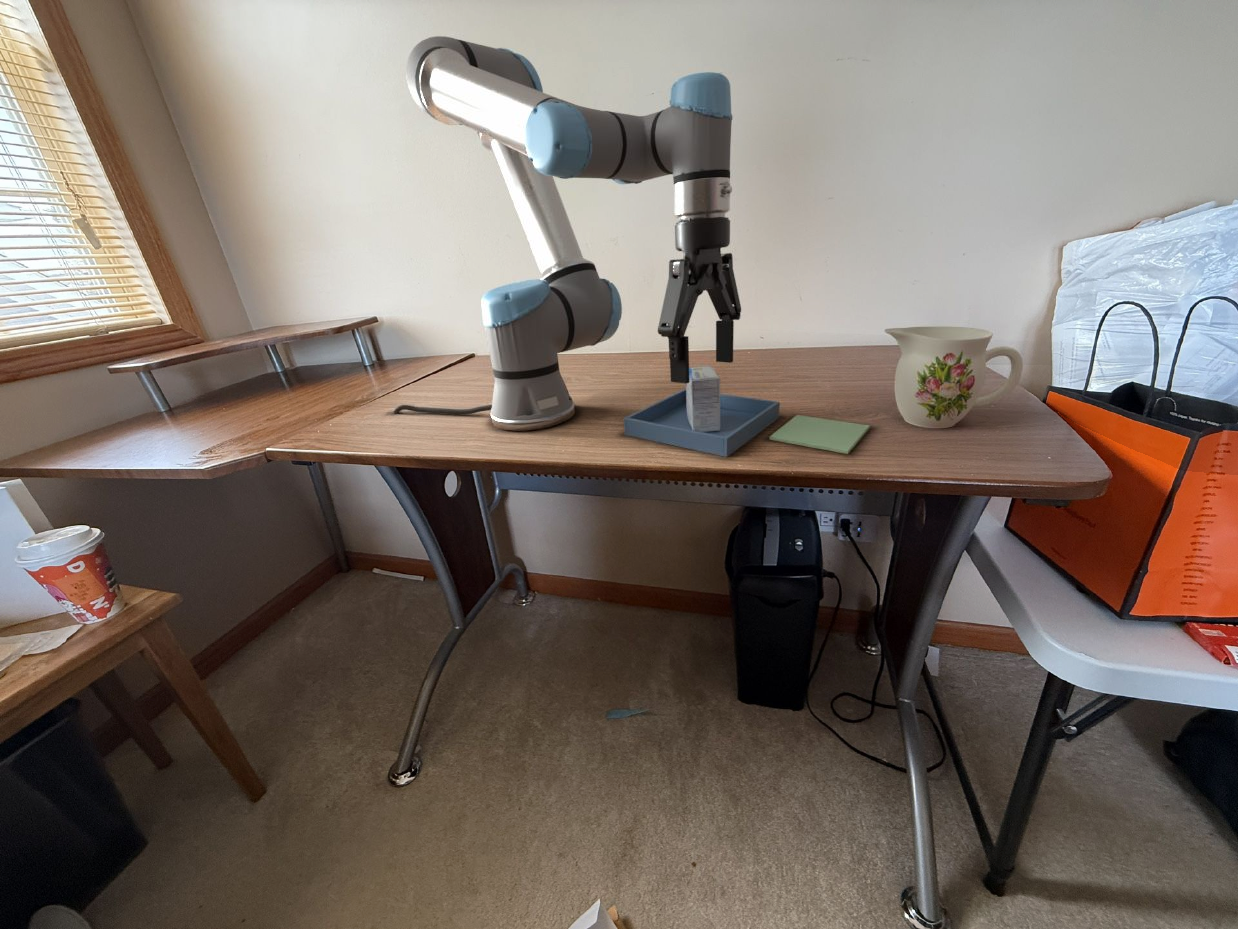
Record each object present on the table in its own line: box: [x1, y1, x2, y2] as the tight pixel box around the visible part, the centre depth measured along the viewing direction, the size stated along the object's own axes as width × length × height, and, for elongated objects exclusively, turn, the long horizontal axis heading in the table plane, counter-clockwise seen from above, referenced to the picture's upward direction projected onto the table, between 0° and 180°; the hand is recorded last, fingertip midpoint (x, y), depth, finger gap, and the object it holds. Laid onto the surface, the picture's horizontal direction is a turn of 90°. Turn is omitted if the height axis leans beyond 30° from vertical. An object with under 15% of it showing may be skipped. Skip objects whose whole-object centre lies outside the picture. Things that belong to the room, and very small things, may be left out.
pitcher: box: [884, 326, 1024, 429], centre depth 69 cm, size 11×18×14 cm, turn 74°
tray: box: [623, 388, 781, 458], centre depth 77 cm, size 18×18×3 cm
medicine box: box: [685, 365, 721, 432], centre depth 76 cm, size 8×4×9 cm, turn 179°
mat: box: [768, 414, 871, 455], centre depth 71 cm, size 11×11×1 cm
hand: (703, 371), depth 74 cm, fingers open, 13 cm apart
